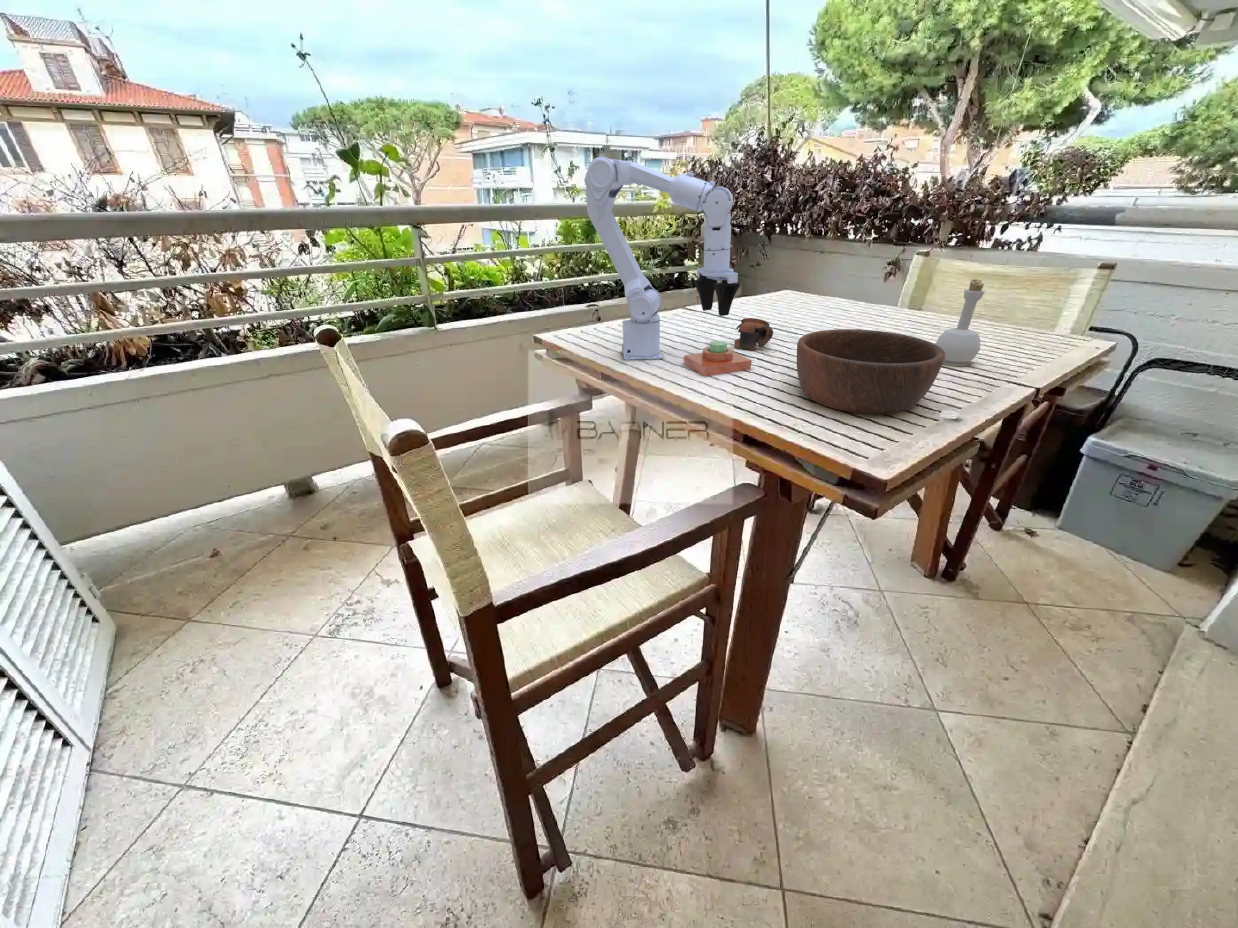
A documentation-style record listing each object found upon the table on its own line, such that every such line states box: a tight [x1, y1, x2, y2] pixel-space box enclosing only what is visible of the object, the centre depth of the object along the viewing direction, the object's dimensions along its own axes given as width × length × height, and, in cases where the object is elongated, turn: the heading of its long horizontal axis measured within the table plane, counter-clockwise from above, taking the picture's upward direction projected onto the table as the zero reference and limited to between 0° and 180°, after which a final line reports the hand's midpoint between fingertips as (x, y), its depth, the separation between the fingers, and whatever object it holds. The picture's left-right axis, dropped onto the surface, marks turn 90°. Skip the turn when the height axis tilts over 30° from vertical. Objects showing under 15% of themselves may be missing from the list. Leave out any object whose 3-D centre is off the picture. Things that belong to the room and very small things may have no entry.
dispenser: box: [683, 346, 752, 377], centre depth 112 cm, size 12×10×4 cm
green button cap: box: [708, 340, 728, 353], centre depth 111 cm, size 4×4×2 cm
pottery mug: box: [734, 317, 774, 351], centre depth 126 cm, size 12×10×8 cm
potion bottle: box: [934, 278, 986, 367], centre depth 108 cm, size 9×9×18 cm
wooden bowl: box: [796, 328, 945, 415], centre depth 92 cm, size 25×25×10 cm
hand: (715, 312), depth 113 cm, fingers open, 7 cm apart
